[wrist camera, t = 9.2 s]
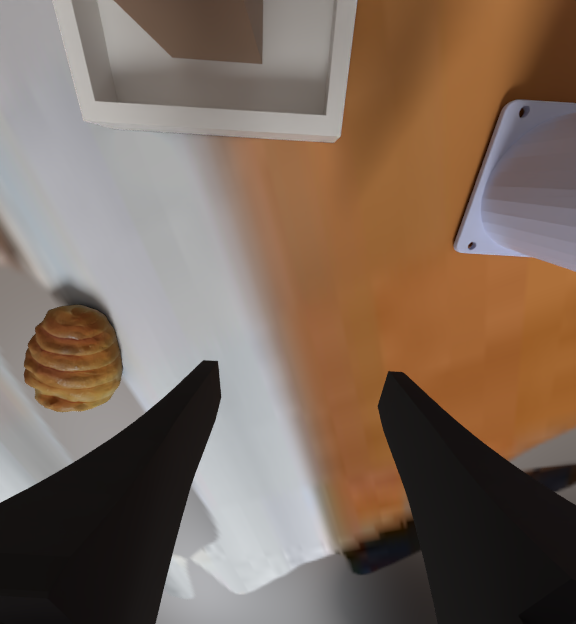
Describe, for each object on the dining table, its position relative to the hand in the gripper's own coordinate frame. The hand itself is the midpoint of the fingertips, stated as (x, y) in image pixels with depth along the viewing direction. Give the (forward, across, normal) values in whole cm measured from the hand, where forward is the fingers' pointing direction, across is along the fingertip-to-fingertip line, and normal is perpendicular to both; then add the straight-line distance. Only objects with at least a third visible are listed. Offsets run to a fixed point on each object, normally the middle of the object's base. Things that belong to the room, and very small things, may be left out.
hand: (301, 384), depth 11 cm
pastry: (+10, +18, +7) cm, 22 cm away
